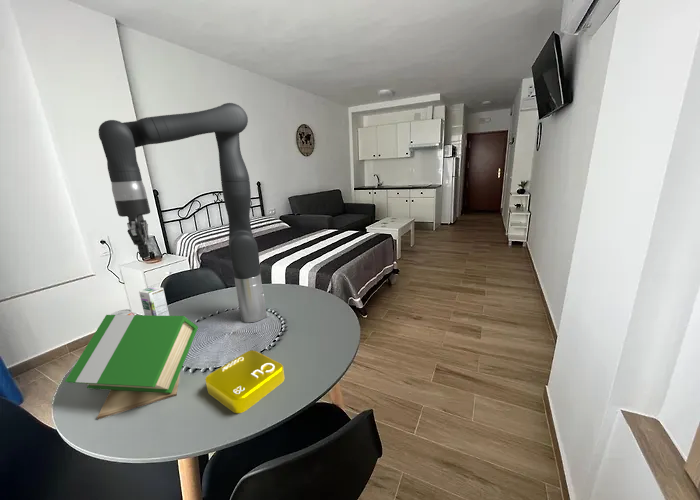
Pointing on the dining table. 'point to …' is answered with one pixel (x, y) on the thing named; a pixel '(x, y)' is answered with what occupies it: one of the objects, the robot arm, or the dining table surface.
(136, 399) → the brown flat panel
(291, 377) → the dining table surface
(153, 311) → the syrup box
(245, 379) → the element tile
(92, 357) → the hardback book
